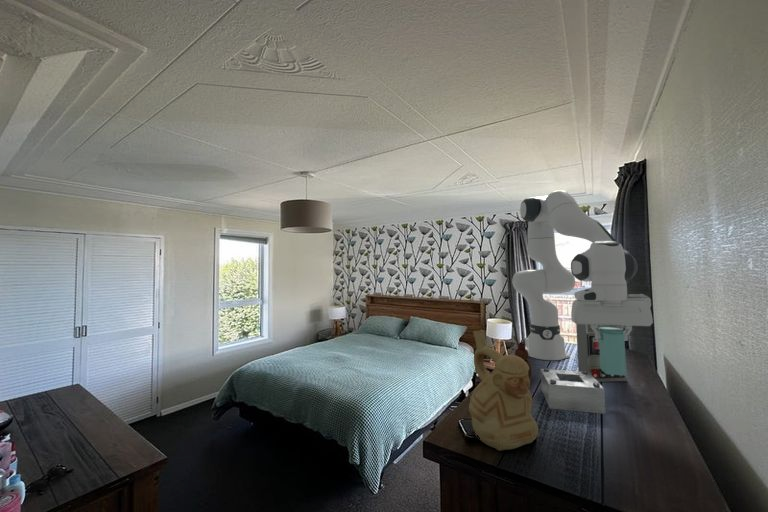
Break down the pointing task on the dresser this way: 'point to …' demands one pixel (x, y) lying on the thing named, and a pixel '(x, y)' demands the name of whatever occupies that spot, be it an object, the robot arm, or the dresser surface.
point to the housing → (572, 391)
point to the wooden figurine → (523, 355)
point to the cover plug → (612, 351)
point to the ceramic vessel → (501, 399)
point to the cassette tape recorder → (593, 353)
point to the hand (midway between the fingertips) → (611, 339)
